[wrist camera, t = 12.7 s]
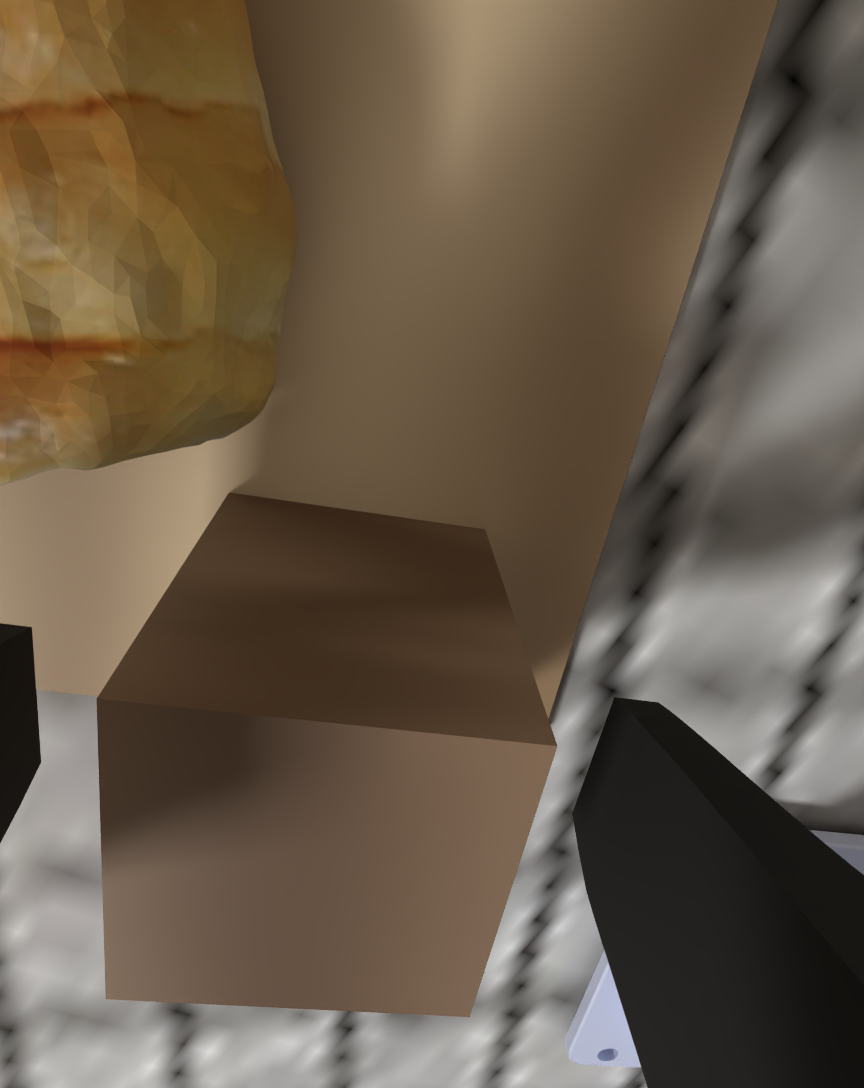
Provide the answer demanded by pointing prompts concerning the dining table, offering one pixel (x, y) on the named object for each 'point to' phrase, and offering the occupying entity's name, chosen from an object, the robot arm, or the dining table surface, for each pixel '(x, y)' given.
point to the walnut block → (318, 767)
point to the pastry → (134, 231)
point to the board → (434, 302)
